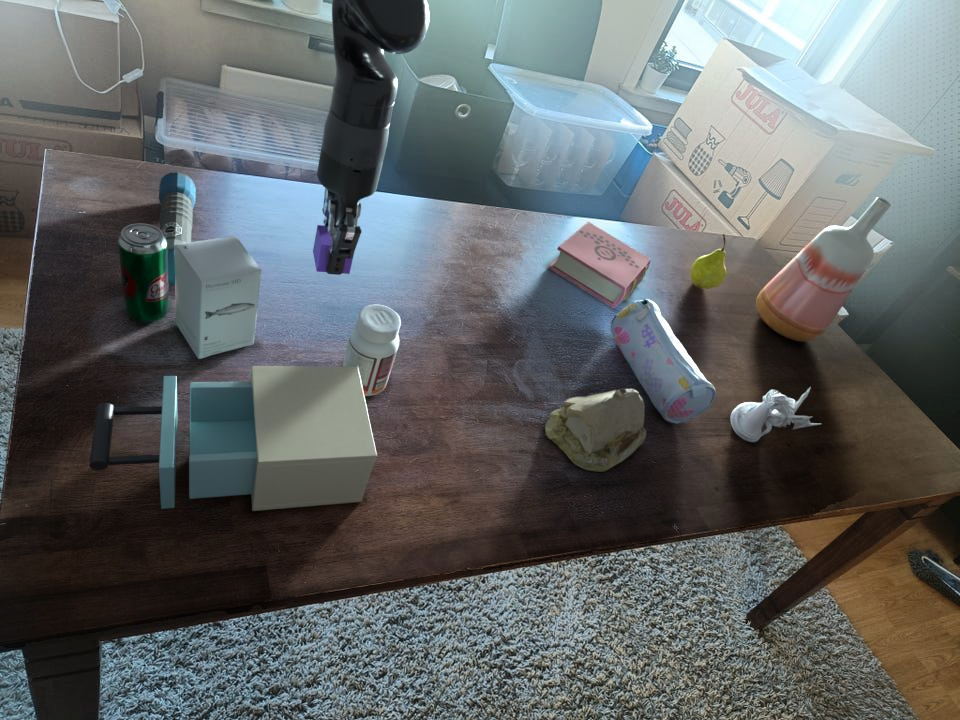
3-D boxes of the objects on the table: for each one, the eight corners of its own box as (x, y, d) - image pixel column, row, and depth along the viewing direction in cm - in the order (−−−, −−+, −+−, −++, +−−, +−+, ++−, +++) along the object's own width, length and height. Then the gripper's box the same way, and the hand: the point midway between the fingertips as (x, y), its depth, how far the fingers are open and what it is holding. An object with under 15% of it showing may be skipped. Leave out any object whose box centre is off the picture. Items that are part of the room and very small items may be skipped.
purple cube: (316, 271, 85) (321, 244, 82) (312, 251, 88) (317, 224, 85) (349, 274, 87) (355, 247, 84) (344, 254, 90) (350, 228, 87)
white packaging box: (198, 361, 77) (199, 282, 69) (174, 322, 80) (172, 242, 72) (255, 346, 82) (263, 270, 73) (231, 310, 85) (235, 232, 77)
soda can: (155, 330, 78) (152, 252, 71) (115, 316, 78) (107, 237, 70) (176, 306, 82) (175, 230, 74) (138, 293, 82) (133, 216, 74)
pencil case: (599, 333, 108) (625, 291, 101) (641, 335, 111) (668, 294, 105) (653, 430, 94) (686, 388, 88) (698, 429, 98) (733, 388, 92)
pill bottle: (383, 364, 86) (401, 302, 79) (389, 398, 82) (409, 337, 75) (337, 362, 84) (352, 298, 77) (342, 397, 80) (357, 333, 73)
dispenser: (252, 511, 66) (258, 462, 60) (246, 417, 74) (251, 365, 68) (361, 501, 70) (377, 455, 65) (345, 414, 78) (358, 366, 73)
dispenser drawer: (91, 514, 59) (83, 472, 55) (103, 420, 67) (97, 375, 62) (272, 500, 66) (278, 461, 62) (265, 415, 73) (270, 375, 69)
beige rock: (578, 482, 82) (612, 435, 76) (532, 418, 88) (560, 370, 82) (649, 454, 90) (685, 410, 84) (602, 397, 96) (633, 352, 89)
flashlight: (195, 201, 99) (196, 173, 95) (194, 292, 85) (194, 263, 82) (160, 198, 97) (159, 169, 93) (152, 290, 83) (151, 260, 80)
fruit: (719, 291, 132) (752, 244, 124) (705, 300, 127) (739, 252, 119) (692, 271, 134) (723, 225, 126) (678, 280, 130) (710, 232, 122)
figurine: (718, 413, 102) (762, 362, 94) (752, 412, 105) (798, 363, 97) (754, 468, 95) (806, 419, 87) (790, 465, 98) (843, 417, 91)
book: (617, 311, 114) (630, 290, 111) (548, 267, 117) (558, 246, 114) (642, 281, 125) (654, 261, 121) (577, 242, 128) (588, 221, 124)
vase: (750, 329, 125) (854, 201, 105) (747, 291, 136) (841, 169, 116) (817, 359, 124) (933, 236, 105) (809, 319, 135) (913, 201, 116)
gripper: (315, 116, 79) (298, 228, 90) (330, 176, 70) (309, 293, 81) (373, 126, 82) (350, 233, 93) (394, 185, 73) (366, 296, 84)
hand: (331, 260), depth 87 cm, fingers closed on purple cube, 4 cm apart
